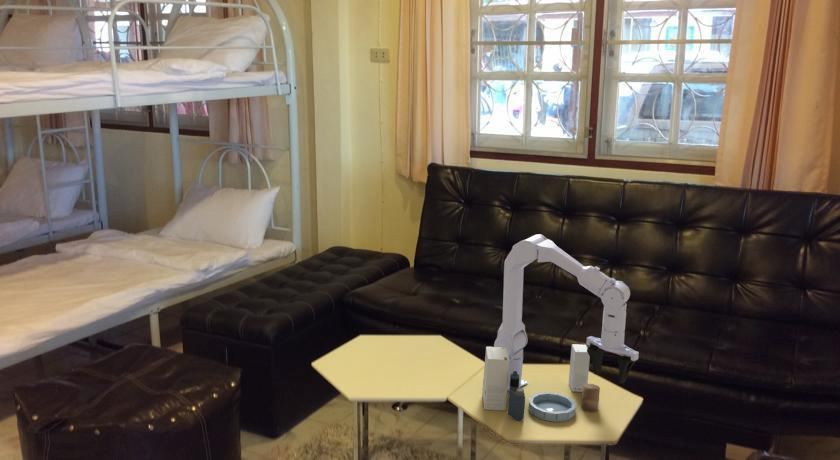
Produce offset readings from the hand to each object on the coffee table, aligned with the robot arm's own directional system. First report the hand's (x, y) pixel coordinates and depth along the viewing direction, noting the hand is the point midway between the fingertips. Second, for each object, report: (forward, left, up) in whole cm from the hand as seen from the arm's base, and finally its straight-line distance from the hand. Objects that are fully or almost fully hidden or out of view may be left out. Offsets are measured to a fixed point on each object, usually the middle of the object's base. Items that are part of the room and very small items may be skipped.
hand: (609, 377), depth 187 cm
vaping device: (-15, -21, -10) cm, 27 cm away
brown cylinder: (-4, -2, -10) cm, 11 cm away
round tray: (-10, -11, -10) cm, 18 cm away
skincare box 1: (-23, -19, -10) cm, 31 cm away
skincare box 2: (-13, +7, -10) cm, 18 cm away
